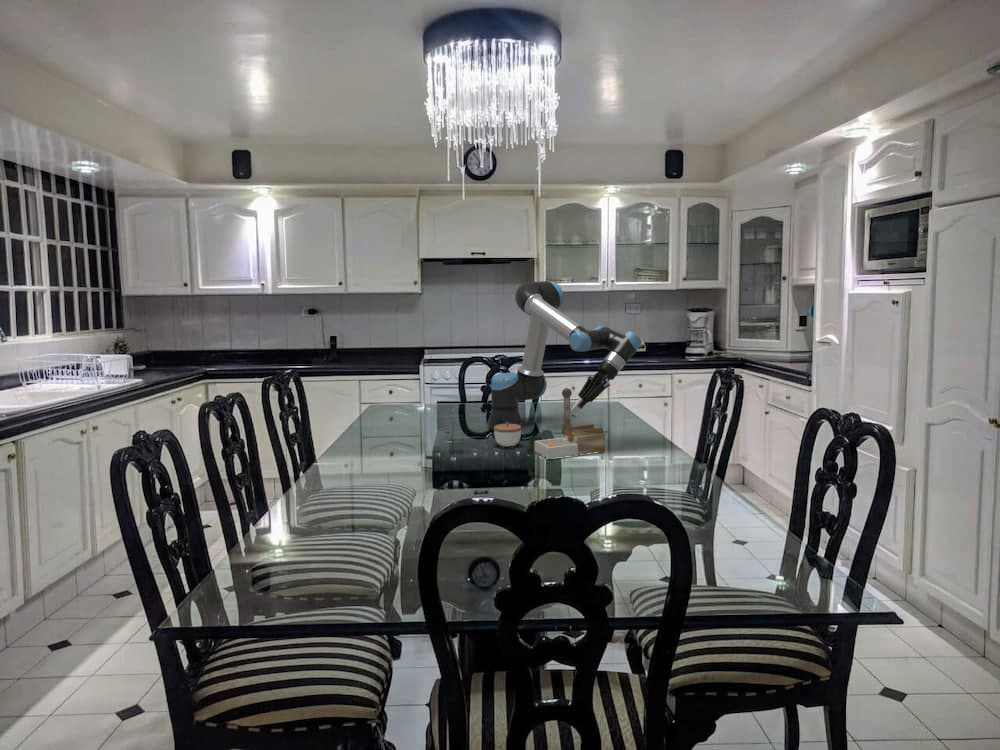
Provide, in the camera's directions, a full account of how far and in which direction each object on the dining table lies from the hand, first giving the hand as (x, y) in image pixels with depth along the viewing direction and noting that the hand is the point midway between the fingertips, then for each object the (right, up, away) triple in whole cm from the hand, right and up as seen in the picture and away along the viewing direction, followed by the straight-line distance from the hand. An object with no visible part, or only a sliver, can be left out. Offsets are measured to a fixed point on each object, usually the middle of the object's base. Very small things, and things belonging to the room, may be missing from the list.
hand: (572, 413), depth 274 cm
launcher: (+5, -14, +4) cm, 16 cm away
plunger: (-2, -8, 0) cm, 8 cm away
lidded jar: (-24, -14, +14) cm, 31 cm away
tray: (-6, -15, 0) cm, 17 cm away
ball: (-9, -13, -2) cm, 16 cm away
